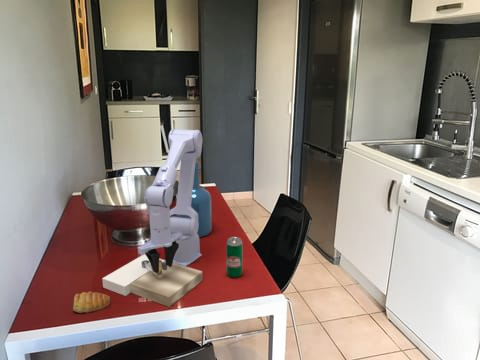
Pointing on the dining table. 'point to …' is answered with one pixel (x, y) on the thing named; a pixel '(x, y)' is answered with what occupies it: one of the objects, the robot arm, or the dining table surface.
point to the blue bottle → (201, 205)
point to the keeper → (164, 266)
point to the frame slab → (126, 276)
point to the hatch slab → (167, 284)
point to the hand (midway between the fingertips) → (162, 268)
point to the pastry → (90, 302)
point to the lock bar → (148, 266)
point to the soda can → (234, 257)
